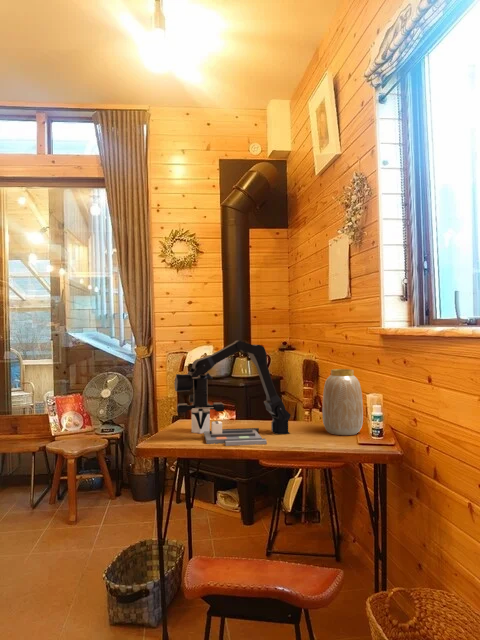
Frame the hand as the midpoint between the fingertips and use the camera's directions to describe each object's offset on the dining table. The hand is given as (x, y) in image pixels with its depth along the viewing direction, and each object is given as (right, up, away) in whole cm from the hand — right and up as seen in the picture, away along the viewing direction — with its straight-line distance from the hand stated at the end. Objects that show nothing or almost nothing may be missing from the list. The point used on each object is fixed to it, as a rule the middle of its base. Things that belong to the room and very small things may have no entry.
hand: (200, 428), depth 183 cm
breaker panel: (+13, -4, +2) cm, 14 cm away
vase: (+61, -5, +13) cm, 62 cm away
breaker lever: (+7, -3, +1) cm, 7 cm away
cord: (+15, -5, +13) cm, 20 cm away
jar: (-1, -5, +15) cm, 16 cm away
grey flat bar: (+18, -4, -7) cm, 20 cm away
